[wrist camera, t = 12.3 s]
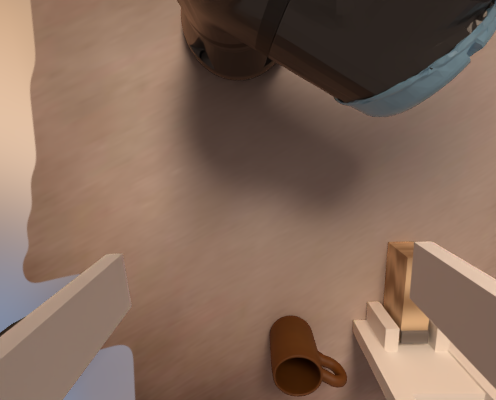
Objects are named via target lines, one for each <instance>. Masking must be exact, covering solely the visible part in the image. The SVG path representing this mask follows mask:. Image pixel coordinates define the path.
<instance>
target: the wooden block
mask: <svg viewBox="0 0 496 400" xmlns="http://www.w3.org/2000/svg"><path fill="white" fill-rule="evenodd" d="M413 250H414V242H388V251H387V264H386V277H385V290H384V303H383V307H384V309H385V310H386V311H387V313H388V314H389V315H390V317H391V318H392V319H393V321H394V322H395V323H396V325H397V326H398V327H399V329H400V331H399V341H400V343H401V344H428V339H429V331H428V324H429V318H428V317H427V316H426V315H425V314H424V313H423V312H422V311H421V310H420V309H419V308H418V307H417V306H416V304H415V303H414V302H413V301H412V300H411V299H410V298H409V297H410V285H411V273H412V262H413Z"/></svg>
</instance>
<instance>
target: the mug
mask: <svg viewBox="0 0 496 400" xmlns="http://www.w3.org/2000/svg"><path fill="white" fill-rule="evenodd" d="M270 351H271V367H272V373H273V379H274V382H275V384H276V386H277V387H278V388H279V389H280V390H281V391H282V392H284V393H285V394H288V395H291V396H305V395H308V394H311V393H312V392H314V391H315V390H316V389H317V388H318V387H319V386H320V384H321V382H322V381H323V382H325V383H327V384H329V385H330V386H333V387H343V386H344V385H345V384H346V381H347V376H346V372H345V370H344V369H343V367H342V366H341V365H340V364H339V363H338V362H337V361H336V360H334V359H332V358H330V357H328V356H325V355H323V354H322V353H320V352H319V351H318V350H317V347H316V343H315V340H314V337H313V333H312V330H311V328H310V326H309V325H308V323H307V322H306V321H305V320H303V319H301V318H299V317H296V316H285V317H282V318H280V319H278V320H277V321H276V322H275V323H274V324H273V326H272V328H271V331H270ZM322 367H326V368H328V369H330V370H331V371H333V372H334V374H335V375H334V374H332V373H330V372H329V371H327V370H325V369H323V368H322Z"/></svg>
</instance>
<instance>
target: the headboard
mask: <svg viewBox="0 0 496 400" xmlns="http://www.w3.org/2000/svg"><path fill="white" fill-rule="evenodd" d="M399 331H400V329H399V327H398V326H397V325H396V323H395V322H394V321H393V319H392V318H391V317H390V315H389V314H388V313H387V311H386V310H385V309H384V307H383V306H382V305H381V303H380V302H379V301H375V302H367V316H366V320H353V333H354V335H355V337H356V339H357V341H358V343H359V345H360V347H361V349H362V351H363V354H364V356H365V358H366V360H367V362H368V364H369V366H370V368H371V370H372V372H373V374H374V376H375V378H376V380H377V382H378V384H379V386H380V388H381V390H382V392H383V394H384V396H385V398H386V400H496V389H495V388H494V387H493V386H492V385H491V384H490V383H489V382H488V381H487V379H486V378H485V377H484V376H483V375H482V374H481V373H480V372H479V371H478V370H477V369H476V368H475V367H474V366H473V365H472V364H471V363H470V361H469V360H468V359H467V358H466V357H465V356H464V355H463V354H462V353H461V352H460V351H459V350H458V349H457V348H456V347H455V346H454V345H453V344H452V342H451V341H450V340H449V339H448V338H447V337H446V336H445V335H444V334H443V333H442V332H441V331H440V330H439V329H438V328H437V327H436V326H435V325H434V323H433V322H432V321H431V320H430V319H429V324H428V331H429V339H428V344H401V343H400V341H399Z"/></svg>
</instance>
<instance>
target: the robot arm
mask: <svg viewBox="0 0 496 400" xmlns="http://www.w3.org/2000/svg"><path fill="white" fill-rule="evenodd" d="M177 1H178V3H179V5H180V6H181V22H182V28H183V32H184V35H185V38H186V41H187V43H188V45H189V47H190V49H191V51H192V52H193V54H194V55H195V56H196V58H197V59H198V60H199V62H200V63H201V64H202V65H203V66H204V67H205V68H207V69H208V70H209V71H211V72H212V73H214V74H216V75H218V76H220V77H223V78H226V79H231V80H246V79H250V78H254V77H256V76H259V75H261V74H263V73H264V72H266V71H267V70H269V69H270V68H271V67H272V66H273V65H274V64H275V63H278V64H279V65H281V66H283V67H285V68H286V69H288V70H290V71H291V72H293V73H295V74H296V75H298V76H300V77H301V78H303V79H305V80H307V81H308V82H310V83H312V84H313V85H315V86H317V87H318V88H320V89H322V90H324V91H325V92H327V93H329V94H330V95H332V96H334V99H335V100H336V101H337V102H339V103H340V104H343V105H347V106H351V107H353V108H355V109H357V110H359V111H360V112H362V113H364V114H366V115H368V116H372V117H389V116H393V115H396V114H399V113H402V112H404V111H407V110H409V109H411V108H413V107H414V106H416V105H418V104H420V103H421V102H423V101H424V100H426V99H427V98H429V97H430V96H432V95H433V94H435V93H436V92H437V91H439V90H440V89H441V88H443V87H444V86H445V85H446V84H448V83H449V82H450V81H451V80H452V79H454V78H455V77H456V76H457V75H458V74H459V73H460V72H461V71H462V70H463V69H464V68H465V67H466V66H467V65H468V64H469V63H470V56H471V55H473V54H474V53H476V52H477V51H479V50H480V49H482V48H483V47H484V46H485V45H486V43H487V42H488V41H489V39H490V38H491V37H492V35H493V34H494V32H495V30H496V0H177ZM409 298H410V299H411V300H412V301H413V302H414V303H415V304H416V306H417V307H418V308H419V309H420V310H421V311H422V312H423V313H424V314H425V315H426V316H427V317H428V318H429V319H430V320H431V321H432V322H433V323H434V325H435V326H436V327H437V328H438V329H439V330H440V331H441V332H442V333H443V334H444V335H445V336H446V337H447V338H448V339H449V340H450V341H451V342H452V344H453V345H454V346H455V347H456V348H457V349H458V350H459V351H460V352H461V353H462V354H463V355H464V356H465V357H466V358H467V359H468V360H469V361H470V363H471V364H472V365H473V366H474V367H475V368H476V369H477V370H478V371H479V372H480V373H481V374H482V375H483V376H484V377H485V378H486V379H487V381H488V382H489V383H490V384H491V385H492V386H493V387H494V388H495V389H496V279H494V278H493V277H491V276H489V275H488V274H486V273H484V272H483V271H481V270H479V269H478V268H476V267H474V266H472V265H471V264H469V263H467V262H466V261H464V260H462V259H461V258H459V257H457V256H456V255H454V254H452V253H451V252H449V251H447V250H446V249H444V248H442V247H441V246H439V245H437V244H436V243H434V242H432V241H429V242H414V250H413V262H412V273H411V285H410V297H409ZM131 307H132V305H131V299H130V293H129V287H128V281H127V275H126V269H125V263H124V258H123V253H122V254H106V255H105V256H104V257H102V258H101V259H100V260H98V261H97V262H96V263H95V264H93V265H92V266H91V267H89V268H88V269H87V270H86V271H84V272H83V273H82V274H80V275H79V276H78V277H76V278H75V279H74V280H73V281H71V282H70V283H69V284H68V285H66V286H65V287H64V288H62V289H61V290H60V291H58V292H57V293H56V294H55V295H53V296H52V297H51V298H50V299H48V300H47V301H46V302H45V303H43V304H42V305H41V306H39V307H38V308H37V309H35V310H34V311H33V312H31V313H30V314H29V315H28V316H26V317H24V318H22V319H21V320H19V321H17V322H15V323H13V324H11V325H10V326H9V327H7V328H6V329H5V330H3V331H2V332H1V333H0V400H63V398H64V397H65V396H66V394H67V393H68V392H69V390H70V389H71V388H72V386H73V385H74V384H75V382H76V381H77V380H78V378H79V377H80V376H81V374H82V373H83V372H84V370H85V369H86V367H87V366H88V365H89V363H90V362H91V361H92V359H93V358H94V357H95V355H96V354H97V353H98V351H99V350H100V349H101V347H102V346H103V345H104V343H105V342H106V341H107V339H108V338H109V336H110V335H111V334H112V332H113V331H114V330H115V328H116V327H117V326H118V324H119V323H120V322H121V320H122V319H123V318H124V316H125V315H126V314H127V312H128V311H129V309H130V308H131Z"/></svg>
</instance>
